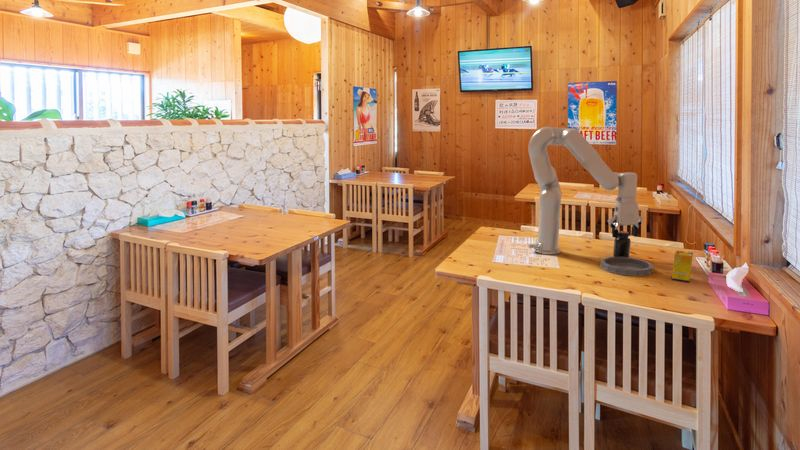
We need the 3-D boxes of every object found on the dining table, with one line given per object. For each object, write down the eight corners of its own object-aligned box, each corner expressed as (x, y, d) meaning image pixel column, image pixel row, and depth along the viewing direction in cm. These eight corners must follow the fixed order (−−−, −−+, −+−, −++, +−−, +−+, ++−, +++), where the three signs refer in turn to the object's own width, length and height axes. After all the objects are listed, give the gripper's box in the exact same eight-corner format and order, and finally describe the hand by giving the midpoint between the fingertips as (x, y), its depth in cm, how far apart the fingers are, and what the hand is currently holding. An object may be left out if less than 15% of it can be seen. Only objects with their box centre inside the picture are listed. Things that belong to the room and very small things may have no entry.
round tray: (619, 277, 186) (620, 271, 186) (591, 263, 206) (591, 258, 205) (663, 274, 190) (664, 268, 189) (631, 260, 209) (631, 255, 208)
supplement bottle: (631, 259, 211) (633, 234, 208) (615, 259, 212) (617, 233, 209) (626, 255, 217) (629, 230, 215) (611, 254, 219) (613, 230, 216)
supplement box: (672, 276, 187) (675, 250, 185) (690, 278, 184) (693, 252, 182) (671, 280, 183) (674, 253, 180) (689, 282, 179) (692, 255, 177)
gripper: (614, 202, 204) (612, 240, 207) (649, 199, 207) (647, 236, 210) (604, 200, 211) (602, 236, 214) (638, 197, 214) (635, 233, 217)
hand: (624, 236), depth 212 cm, fingers open, 9 cm apart
